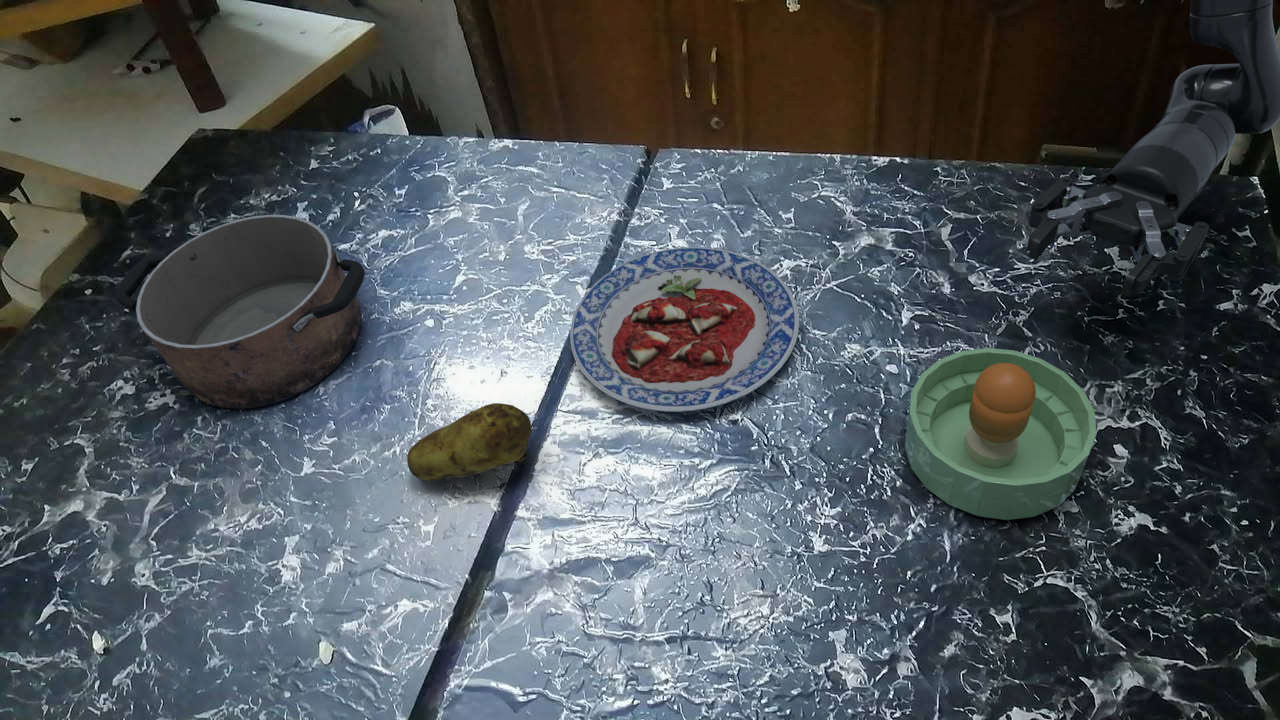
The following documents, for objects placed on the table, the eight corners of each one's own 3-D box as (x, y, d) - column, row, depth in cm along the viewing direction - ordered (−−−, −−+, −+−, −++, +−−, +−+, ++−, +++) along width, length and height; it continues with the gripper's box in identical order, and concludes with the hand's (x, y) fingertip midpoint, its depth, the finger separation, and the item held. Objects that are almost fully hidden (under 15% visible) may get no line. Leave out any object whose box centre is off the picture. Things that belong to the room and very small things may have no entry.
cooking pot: (416, 282, 118) (390, 216, 110) (351, 419, 103) (315, 353, 95) (208, 276, 124) (168, 213, 116) (118, 404, 109) (66, 341, 101)
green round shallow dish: (1044, 379, 95) (1057, 338, 91) (1109, 511, 84) (1126, 472, 80) (887, 398, 96) (891, 359, 92) (930, 532, 85) (937, 494, 81)
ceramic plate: (777, 439, 94) (776, 421, 92) (542, 405, 101) (536, 387, 99) (815, 270, 110) (815, 251, 108) (610, 251, 117) (607, 233, 115)
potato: (439, 426, 101) (417, 378, 95) (549, 442, 98) (534, 393, 92) (407, 488, 96) (382, 441, 90) (523, 508, 92) (504, 460, 86)
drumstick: (1008, 423, 91) (1029, 347, 83) (1026, 466, 88) (1049, 390, 80) (955, 429, 92) (971, 354, 84) (971, 472, 88) (989, 397, 80)
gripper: (1094, 122, 91) (1010, 208, 84) (1250, 169, 83) (1173, 267, 76) (1077, 185, 96) (998, 270, 89) (1223, 234, 89) (1148, 332, 81)
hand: (1078, 269), depth 83 cm, fingers open, 8 cm apart
